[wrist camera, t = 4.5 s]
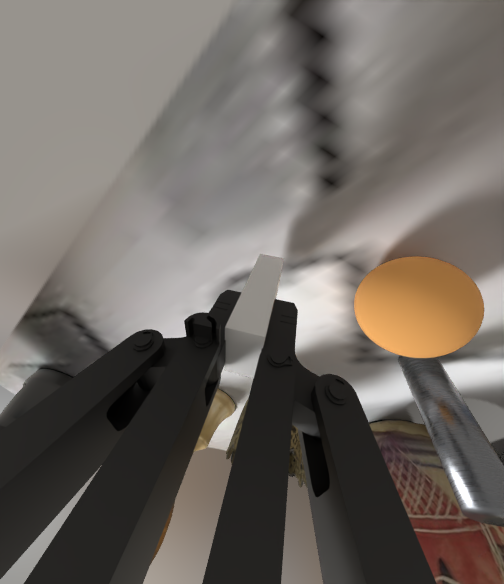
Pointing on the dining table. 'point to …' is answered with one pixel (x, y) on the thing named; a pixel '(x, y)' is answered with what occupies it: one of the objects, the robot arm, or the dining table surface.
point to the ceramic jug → (438, 509)
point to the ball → (419, 307)
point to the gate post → (457, 441)
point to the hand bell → (207, 435)
